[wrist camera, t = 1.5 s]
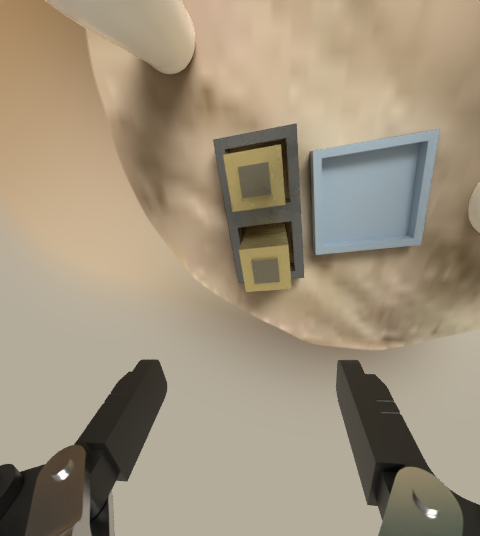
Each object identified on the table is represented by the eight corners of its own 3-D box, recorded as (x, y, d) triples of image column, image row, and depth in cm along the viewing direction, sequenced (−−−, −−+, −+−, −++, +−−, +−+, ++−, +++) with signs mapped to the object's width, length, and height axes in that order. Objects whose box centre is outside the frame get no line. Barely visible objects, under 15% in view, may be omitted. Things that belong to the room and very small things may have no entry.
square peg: (278, 149, 25) (281, 143, 17) (281, 192, 26) (285, 205, 19) (236, 156, 25) (222, 154, 18) (242, 198, 27) (231, 212, 20)
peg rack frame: (294, 127, 24) (296, 123, 21) (301, 269, 30) (304, 277, 28) (218, 141, 25) (213, 139, 23) (241, 274, 31) (238, 283, 29)
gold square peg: (284, 223, 28) (288, 246, 20) (286, 257, 30) (291, 290, 22) (247, 227, 29) (238, 251, 21) (252, 260, 30) (245, 294, 23)
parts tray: (427, 131, 22) (440, 128, 21) (411, 239, 27) (420, 244, 25) (310, 151, 24) (312, 150, 23) (313, 249, 29) (315, 254, 27)
